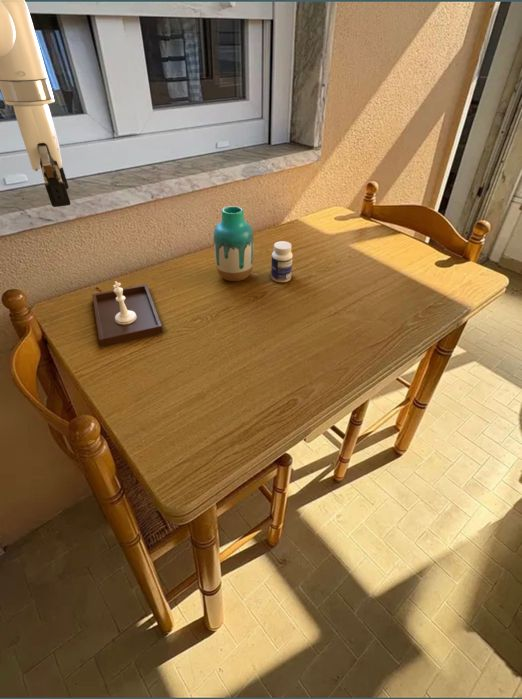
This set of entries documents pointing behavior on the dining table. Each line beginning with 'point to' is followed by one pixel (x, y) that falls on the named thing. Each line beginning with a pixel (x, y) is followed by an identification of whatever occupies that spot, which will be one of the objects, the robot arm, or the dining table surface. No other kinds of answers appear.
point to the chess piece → (123, 307)
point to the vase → (233, 245)
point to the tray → (135, 301)
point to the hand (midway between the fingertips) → (61, 197)
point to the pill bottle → (281, 262)
